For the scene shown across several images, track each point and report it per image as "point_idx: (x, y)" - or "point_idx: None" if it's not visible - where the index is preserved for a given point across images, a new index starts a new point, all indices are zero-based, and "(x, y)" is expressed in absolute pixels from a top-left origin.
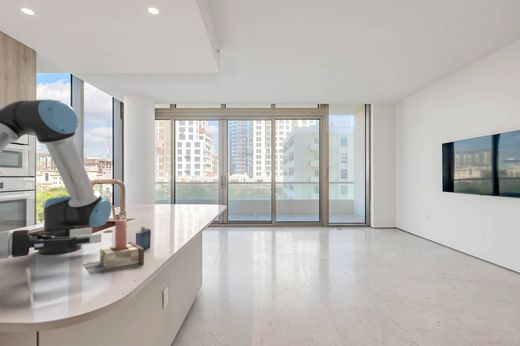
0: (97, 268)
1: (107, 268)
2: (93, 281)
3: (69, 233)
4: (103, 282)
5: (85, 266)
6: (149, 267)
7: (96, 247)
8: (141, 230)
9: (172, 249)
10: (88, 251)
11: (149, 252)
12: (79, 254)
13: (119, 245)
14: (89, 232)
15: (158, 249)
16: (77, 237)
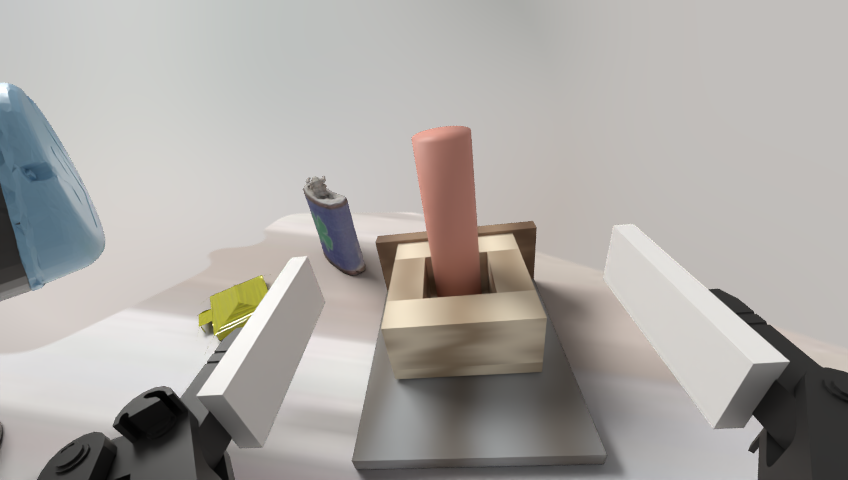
0: (493, 405)
1: (541, 367)
2: (672, 459)
3: (219, 422)
4: (702, 419)
5: (413, 453)
6: (542, 269)
7: (93, 359)
8: (318, 192)
9: (390, 214)
10: (106, 396)
11: (368, 249)
12: None
13: (476, 258)
14: (313, 293)
15: (358, 232)
16: (776, 365)
